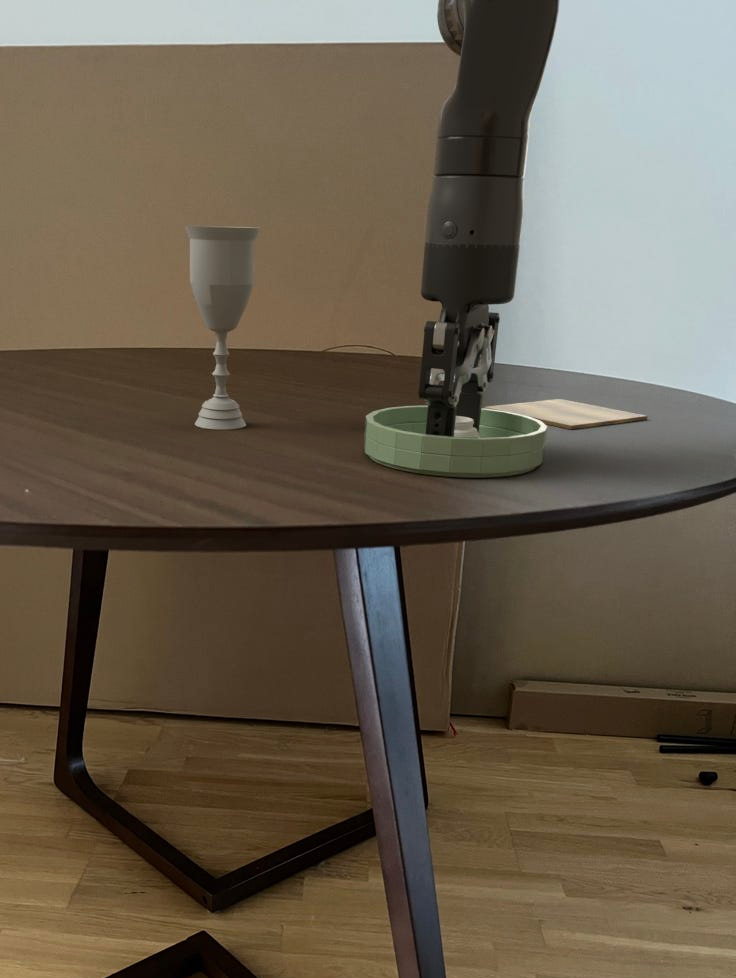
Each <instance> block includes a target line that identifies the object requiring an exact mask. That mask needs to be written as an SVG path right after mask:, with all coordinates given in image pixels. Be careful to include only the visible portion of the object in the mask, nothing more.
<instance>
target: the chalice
mask: <svg viewBox="0 0 736 978" xmlns="http://www.w3.org/2000/svg"><path fill="white" fill-rule="evenodd" d="M184 228H185V230H186V231H185V232H186V233H187V235H188V237H189V283H190V288H191V290H192V294H193V297H194V300H195V303H196V306H197V309H198V311H199V312H200V313H199V314H200V315H201V317H202V319H203V322H204V324H205V326H206V328H207V329H208V330H210V331H212V332H214V333H215V339H216V344H215V347H214V348H215V349H214V351H213V352H212V355H213V356H214V359H215V363H216V365H215V368H214V371H213V372H212V373H211V375H212V376H213V377H214V381H215V385H216V387H215V391H214V394H212V398H209V399H206V400H205V401H204V402H203V403H202V405H201V409H200V411H199V412H198V417H197V419H196V420H195V423H194V425H195V426H196V427H197V428H201V429H208V430H236V429H243V428H245V427H246V426H247V423H246V422H245V420H244V419H243V413H242V411H241V410H240V405H239V404H238V402H237V401H236V400H234V399H231V398H230V397H229V396H230V394H228V393H227V387H226V385H227V379H228V377H229V376H230V375H231V373H230V372H229V371H228V368H227V360H228V357H229V356H230V352H229V350H228V346H227V337H228V333H230V332H232V331H234V330H235V329H237V328H238V325H239V323H240V321H241V319H242V317H243V315H244V312H245V310H246V308H247V306H248V303H249V300H250V297H251V294H252V291H253V287H254V285H255V257H256V256H255V254H256V253H255V251H256V248H255V247H256V239H257V237H258V236H259V235H258V234H259V233H260V230H261V227H255V226H254V227H253V226H251V227H250V226H248V227H247V226H221V225H219V226H218V225H217V226H215V225H184Z"/></svg>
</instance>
